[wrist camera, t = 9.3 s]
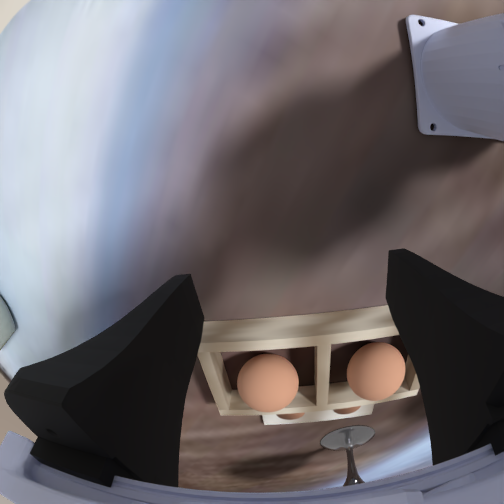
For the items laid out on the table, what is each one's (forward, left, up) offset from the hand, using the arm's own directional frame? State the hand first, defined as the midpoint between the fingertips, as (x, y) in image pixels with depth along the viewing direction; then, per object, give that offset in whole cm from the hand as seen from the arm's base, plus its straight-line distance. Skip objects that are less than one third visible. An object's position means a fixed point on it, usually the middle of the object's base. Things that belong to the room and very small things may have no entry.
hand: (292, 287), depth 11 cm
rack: (-2, +17, -9) cm, 19 cm away
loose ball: (+2, +14, -7) cm, 16 cm away
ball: (-7, +14, -7) cm, 17 cm away
